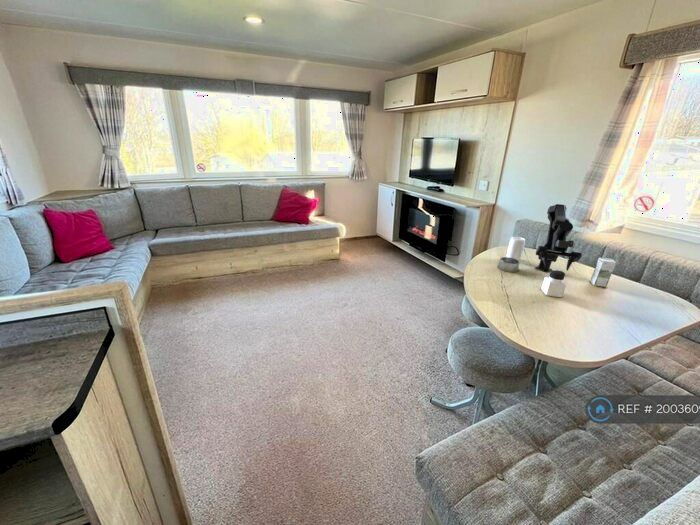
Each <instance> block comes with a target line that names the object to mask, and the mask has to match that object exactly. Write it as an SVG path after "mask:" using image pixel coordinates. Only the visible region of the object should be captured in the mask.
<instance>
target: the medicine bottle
mask: <svg viewBox="0 0 700 525" xmlns="http://www.w3.org/2000/svg"><path fill="white" fill-rule="evenodd" d="M565 276H566V273H565V272H564V271H562V270H560V269H552V270H551V271H549V275H548V276H545V277H544V278H543V282H542V285H541V287H540V288H541V291H542V292H543V293H544V295H545V296H547V297H555V298H562V297H563V295H564V293H565V290H566V287H567V284H566V283H565V282H564V279H565Z"/></svg>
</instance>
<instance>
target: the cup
mask: <svg viewBox="0 0 700 525" xmlns="http://www.w3.org/2000/svg"><path fill="white" fill-rule="evenodd" d="M525 245H526V239H525V238H524V237H521V236H511V238H510V240H509V243H508V247H507V252H506V257H509V258H513V259H516V260H518V261H520V260H521V258H522V256H523V253H524V249H525Z"/></svg>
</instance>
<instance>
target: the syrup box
mask: <svg viewBox="0 0 700 525" xmlns="http://www.w3.org/2000/svg"><path fill="white" fill-rule="evenodd" d="M616 264H617V262H616V261H615V260H614V259H613V258H607V257H598V258H597V262H596V265H595V267H594V270H593V272H592V274H591V278H590V280H589V283H591V284H592V285H593V286H595V287H601V288H607V287H608V284H609V281H610V280H611V276H612V275H613V272H614V269H615V267H616Z"/></svg>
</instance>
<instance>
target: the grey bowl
mask: <svg viewBox="0 0 700 525" xmlns="http://www.w3.org/2000/svg"><path fill="white" fill-rule="evenodd" d="M520 263H521V262H520V260H516V259H513V258H509V257H507V256H505V257H500V258H499V262H498V265H497V268H498V269H499V270H501V271H504V272H508V273H517V272H518V270H519V267H520Z"/></svg>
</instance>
